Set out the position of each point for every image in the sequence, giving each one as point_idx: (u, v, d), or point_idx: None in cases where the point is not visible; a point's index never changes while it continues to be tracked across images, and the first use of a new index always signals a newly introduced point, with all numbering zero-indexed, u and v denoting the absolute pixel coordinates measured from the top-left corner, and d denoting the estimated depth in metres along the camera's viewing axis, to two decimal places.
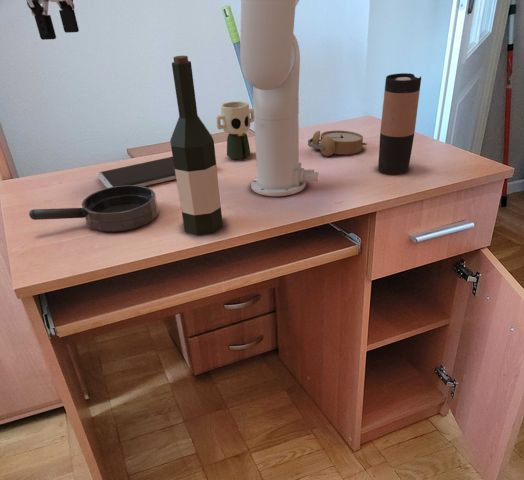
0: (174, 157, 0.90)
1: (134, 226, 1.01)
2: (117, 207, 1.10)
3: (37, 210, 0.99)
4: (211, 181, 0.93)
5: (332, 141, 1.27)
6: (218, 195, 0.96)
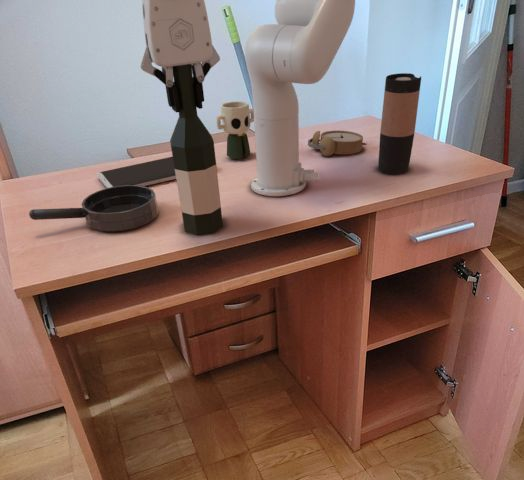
0: (174, 157, 0.90)
1: (134, 226, 1.01)
2: (117, 207, 1.10)
3: (37, 210, 0.99)
4: (211, 181, 0.93)
5: (332, 141, 1.27)
6: (218, 195, 0.96)
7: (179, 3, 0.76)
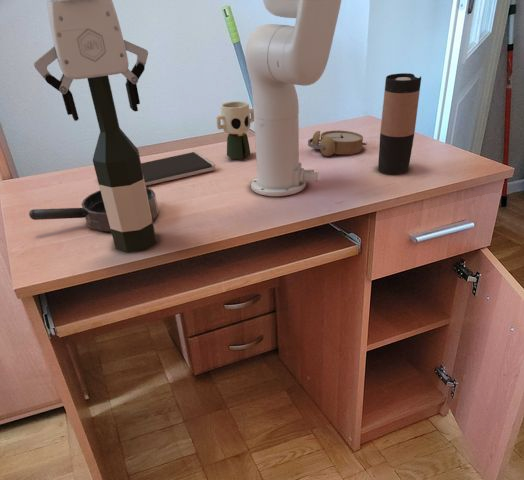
0: (97, 172, 0.86)
1: None
2: None
3: (37, 210, 0.99)
4: (138, 196, 0.89)
5: (332, 141, 1.27)
6: (148, 211, 0.92)
7: (86, 12, 0.72)
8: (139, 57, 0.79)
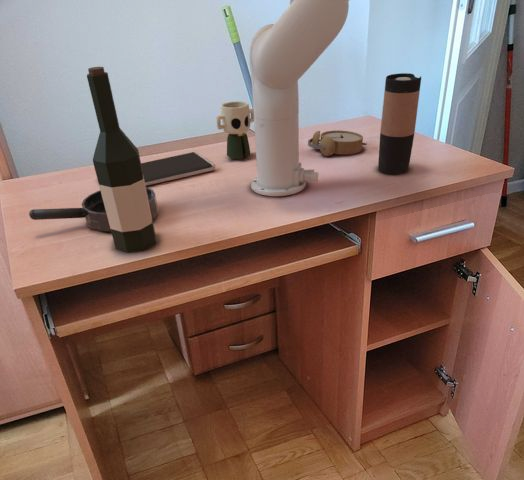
0: (97, 172, 0.86)
1: None
2: None
3: (37, 210, 0.99)
4: (138, 196, 0.89)
5: (332, 141, 1.27)
6: (148, 211, 0.92)
7: None
8: None
